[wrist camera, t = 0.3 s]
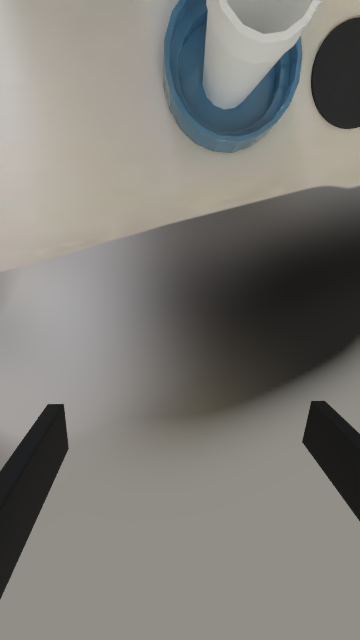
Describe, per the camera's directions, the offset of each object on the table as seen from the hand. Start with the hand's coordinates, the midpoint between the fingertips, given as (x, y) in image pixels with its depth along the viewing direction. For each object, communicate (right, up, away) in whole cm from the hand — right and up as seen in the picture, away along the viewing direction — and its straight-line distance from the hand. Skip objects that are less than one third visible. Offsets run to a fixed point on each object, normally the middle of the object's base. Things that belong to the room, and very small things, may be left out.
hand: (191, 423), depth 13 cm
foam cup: (+5, +37, +19) cm, 41 cm away
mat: (+23, +38, +20) cm, 49 cm away
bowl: (+5, +37, +19) cm, 42 cm away
